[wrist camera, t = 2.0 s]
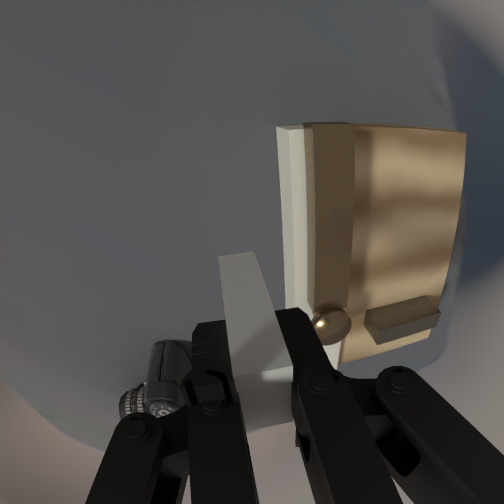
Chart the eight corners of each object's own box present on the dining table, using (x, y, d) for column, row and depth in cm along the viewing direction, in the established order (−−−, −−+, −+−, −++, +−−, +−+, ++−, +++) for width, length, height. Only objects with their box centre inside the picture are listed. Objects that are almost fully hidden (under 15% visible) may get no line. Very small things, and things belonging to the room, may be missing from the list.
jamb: (276, 126, 24) (295, 131, 19) (332, 124, 24) (363, 130, 19) (286, 356, 36) (298, 392, 31) (325, 348, 36) (341, 382, 31)
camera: (100, 353, 32) (82, 419, 23) (181, 333, 32) (179, 407, 23) (153, 416, 39) (150, 474, 30) (222, 404, 39) (229, 465, 30)
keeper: (365, 310, 30) (380, 330, 27) (424, 295, 31) (441, 312, 28) (363, 324, 31) (376, 345, 28) (421, 308, 32) (436, 326, 29)
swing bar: (338, 321, 29) (349, 340, 26) (303, 329, 28) (311, 349, 26) (345, 121, 20) (363, 124, 18) (299, 122, 20) (312, 125, 17)
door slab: (332, 124, 24) (346, 126, 22) (447, 128, 26) (466, 133, 23) (325, 348, 36) (333, 365, 34) (417, 324, 38) (428, 337, 35)
